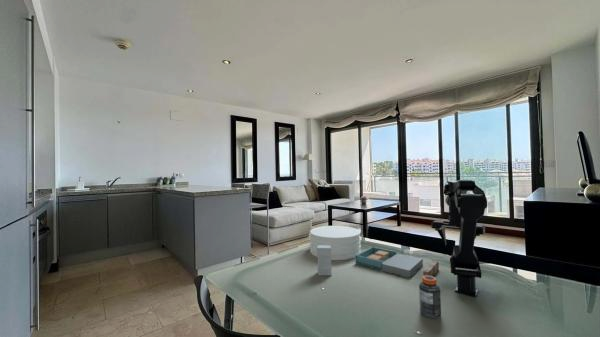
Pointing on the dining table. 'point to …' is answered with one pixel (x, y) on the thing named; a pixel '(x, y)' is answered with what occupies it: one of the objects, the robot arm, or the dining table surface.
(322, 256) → the skincare box
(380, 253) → the tile
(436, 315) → the pill bottle
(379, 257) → the tile
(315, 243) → the plate stack
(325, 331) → the dining table surface
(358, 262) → the box
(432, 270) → the scraper bar
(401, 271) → the platform
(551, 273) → the dining table surface
